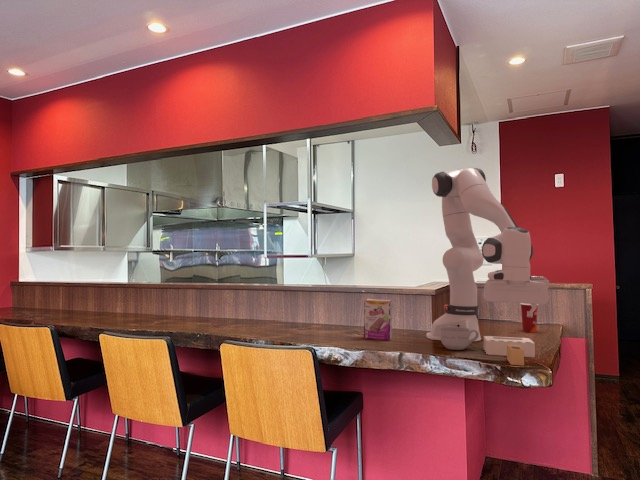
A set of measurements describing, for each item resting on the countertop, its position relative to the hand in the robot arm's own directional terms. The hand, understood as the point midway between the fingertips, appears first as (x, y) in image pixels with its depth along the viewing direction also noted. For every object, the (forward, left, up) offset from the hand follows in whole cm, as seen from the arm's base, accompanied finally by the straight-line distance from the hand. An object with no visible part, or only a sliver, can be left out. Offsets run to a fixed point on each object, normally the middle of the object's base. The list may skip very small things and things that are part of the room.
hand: (514, 316), depth 151 cm
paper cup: (+17, +63, -16) cm, 67 cm away
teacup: (-17, +16, -16) cm, 28 cm away
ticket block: (0, +14, -16) cm, 21 cm away
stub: (0, 0, -16) cm, 15 cm away
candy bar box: (-49, +26, -16) cm, 58 cm away
